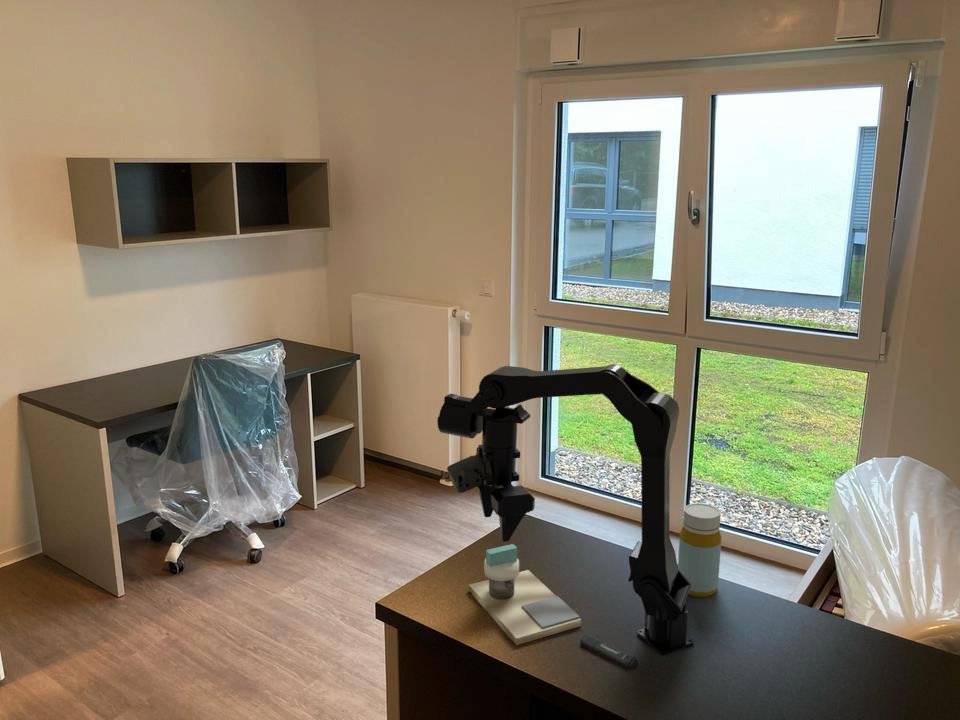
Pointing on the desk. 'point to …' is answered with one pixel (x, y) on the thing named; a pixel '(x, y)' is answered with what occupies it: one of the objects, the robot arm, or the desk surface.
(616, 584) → the desk surface
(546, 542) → the desk surface
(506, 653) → the desk surface
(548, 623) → the board
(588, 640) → the usb stick
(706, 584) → the bottle
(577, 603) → the desk surface
